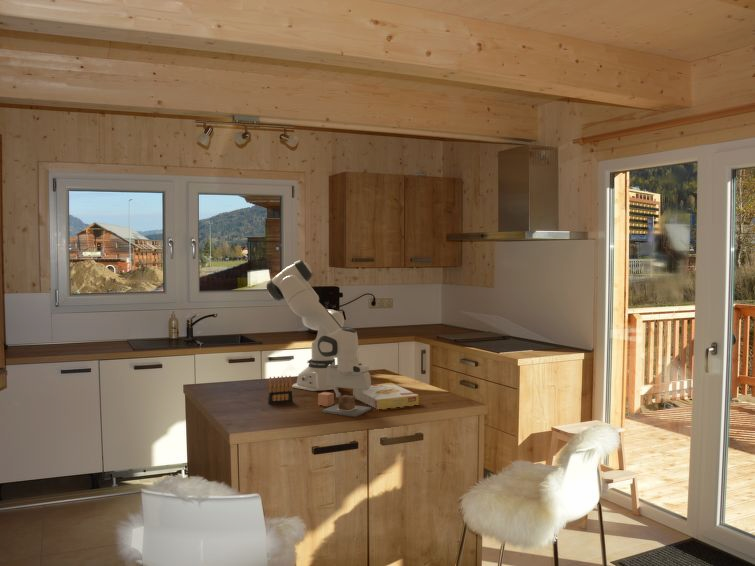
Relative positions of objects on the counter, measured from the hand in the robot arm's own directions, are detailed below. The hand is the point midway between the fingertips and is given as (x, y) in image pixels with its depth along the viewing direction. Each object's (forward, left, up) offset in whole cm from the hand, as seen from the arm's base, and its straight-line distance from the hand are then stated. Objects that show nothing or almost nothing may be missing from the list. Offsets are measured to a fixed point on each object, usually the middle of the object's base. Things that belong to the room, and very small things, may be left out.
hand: (348, 398), depth 287 cm
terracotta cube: (-14, +5, -5) cm, 16 cm away
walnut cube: (0, -1, -4) cm, 4 cm away
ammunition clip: (-34, -1, -6) cm, 35 cm away
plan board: (0, -1, -5) cm, 5 cm away
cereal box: (+6, +24, -6) cm, 25 cm away
